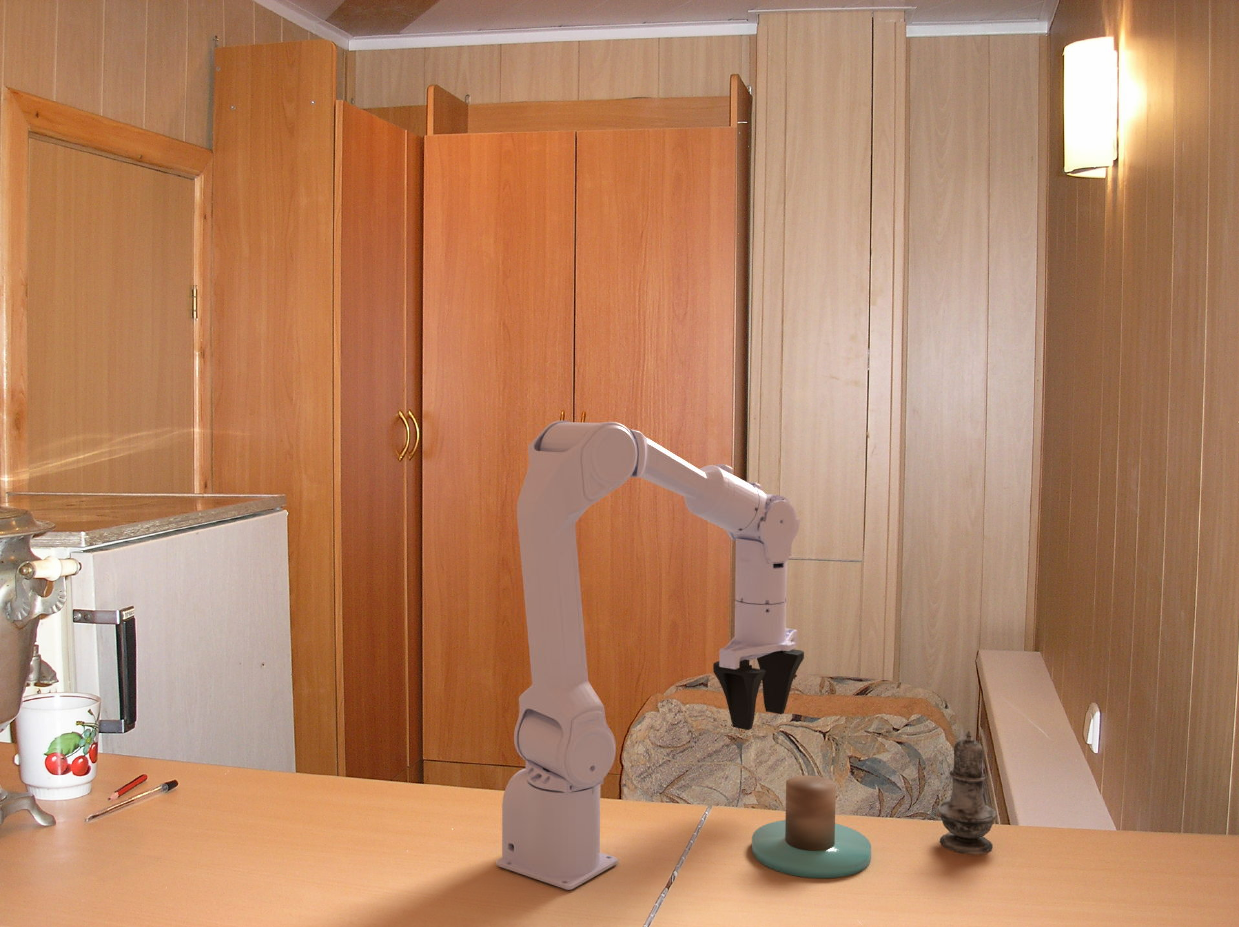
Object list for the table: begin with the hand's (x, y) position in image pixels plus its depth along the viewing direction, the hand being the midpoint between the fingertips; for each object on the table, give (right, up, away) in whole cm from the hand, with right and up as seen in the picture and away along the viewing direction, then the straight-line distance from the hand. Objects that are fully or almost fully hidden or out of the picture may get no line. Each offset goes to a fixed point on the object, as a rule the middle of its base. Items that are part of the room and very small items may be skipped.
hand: (758, 719), depth 122 cm
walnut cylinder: (+4, -10, -11) cm, 15 cm away
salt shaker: (+21, -11, -8) cm, 25 cm away
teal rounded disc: (+4, -11, -11) cm, 16 cm away
